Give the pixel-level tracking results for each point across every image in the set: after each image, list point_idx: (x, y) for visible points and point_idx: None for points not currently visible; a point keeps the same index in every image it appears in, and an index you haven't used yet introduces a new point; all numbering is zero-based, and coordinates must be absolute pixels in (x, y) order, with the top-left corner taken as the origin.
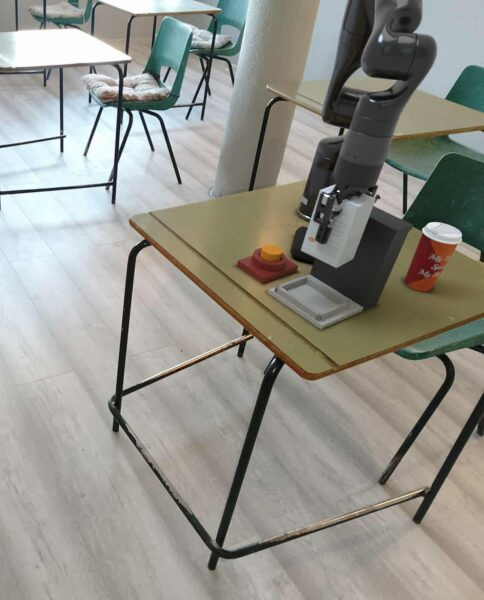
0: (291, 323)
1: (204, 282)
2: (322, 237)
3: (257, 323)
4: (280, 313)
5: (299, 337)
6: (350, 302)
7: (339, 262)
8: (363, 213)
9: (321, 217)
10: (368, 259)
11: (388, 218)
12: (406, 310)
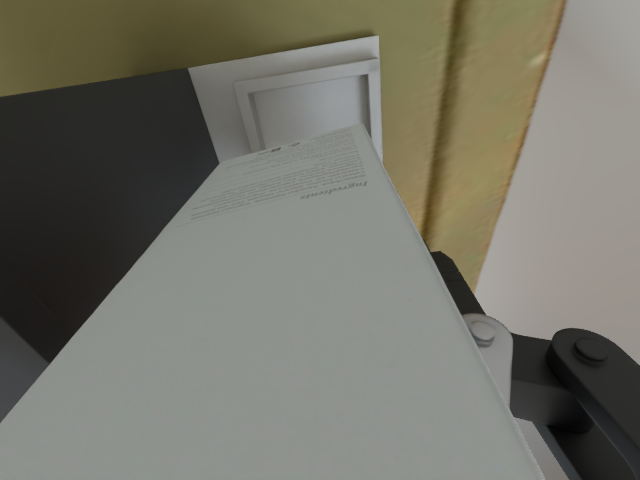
0: (429, 94)
1: (475, 281)
2: (455, 271)
3: (508, 126)
4: (419, 141)
5: (464, 26)
6: (234, 83)
7: (356, 130)
8: (218, 405)
9: (568, 418)
10: (127, 153)
11: None
12: (35, 15)
